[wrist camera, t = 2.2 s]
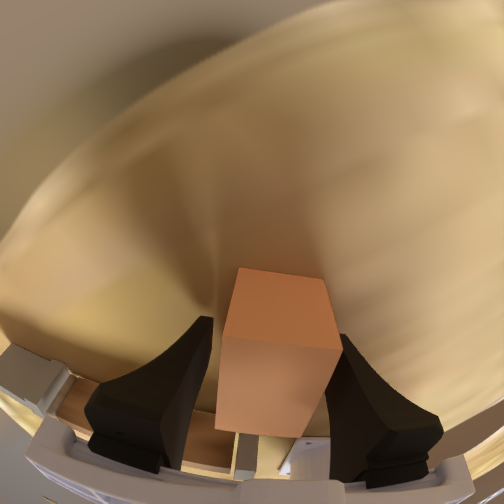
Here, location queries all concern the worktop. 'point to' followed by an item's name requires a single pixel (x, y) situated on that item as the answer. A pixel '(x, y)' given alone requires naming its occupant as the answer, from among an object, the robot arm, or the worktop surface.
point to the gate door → (198, 438)
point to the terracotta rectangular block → (275, 354)
